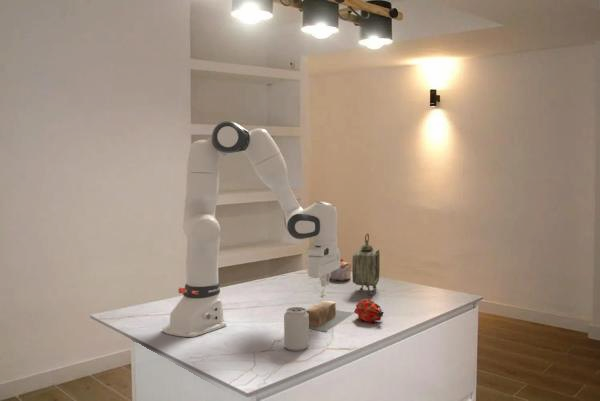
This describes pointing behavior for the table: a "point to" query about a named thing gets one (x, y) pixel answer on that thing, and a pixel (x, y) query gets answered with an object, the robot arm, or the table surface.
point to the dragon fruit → (368, 311)
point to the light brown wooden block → (321, 313)
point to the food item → (342, 272)
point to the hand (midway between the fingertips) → (325, 285)
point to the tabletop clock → (366, 266)
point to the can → (296, 329)
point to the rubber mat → (331, 321)
